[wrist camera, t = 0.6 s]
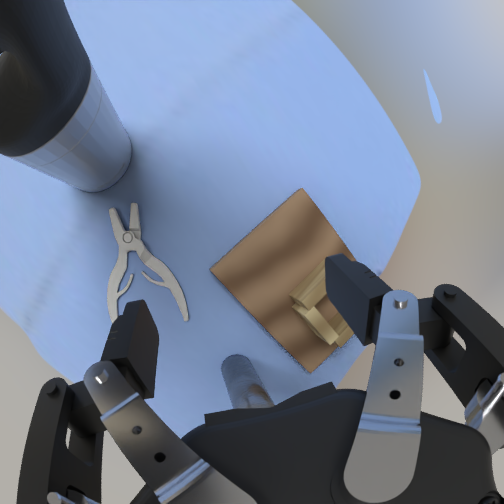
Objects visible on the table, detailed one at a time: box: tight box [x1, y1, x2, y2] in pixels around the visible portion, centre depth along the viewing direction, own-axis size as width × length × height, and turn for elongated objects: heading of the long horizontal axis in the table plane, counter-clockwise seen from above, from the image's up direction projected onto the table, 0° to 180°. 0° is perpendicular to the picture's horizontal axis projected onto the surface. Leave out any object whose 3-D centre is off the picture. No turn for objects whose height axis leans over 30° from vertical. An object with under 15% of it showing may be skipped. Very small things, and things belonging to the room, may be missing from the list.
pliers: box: [107, 203, 188, 324], centre depth 30 cm, size 10×2×15 cm
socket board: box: [210, 188, 356, 373], centre depth 33 cm, size 20×15×6 cm
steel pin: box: [221, 354, 275, 409], centre depth 26 cm, size 4×4×16 cm
